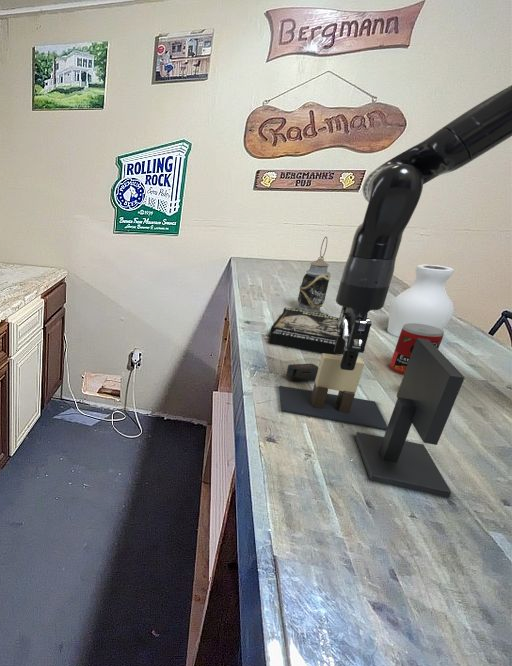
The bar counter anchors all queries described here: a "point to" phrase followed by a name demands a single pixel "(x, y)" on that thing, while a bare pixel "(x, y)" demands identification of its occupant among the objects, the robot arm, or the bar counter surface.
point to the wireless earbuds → (301, 372)
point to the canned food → (412, 343)
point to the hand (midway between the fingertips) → (342, 361)
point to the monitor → (415, 424)
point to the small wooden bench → (336, 382)
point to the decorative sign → (305, 331)
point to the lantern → (314, 285)
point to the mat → (331, 408)
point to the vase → (423, 300)
